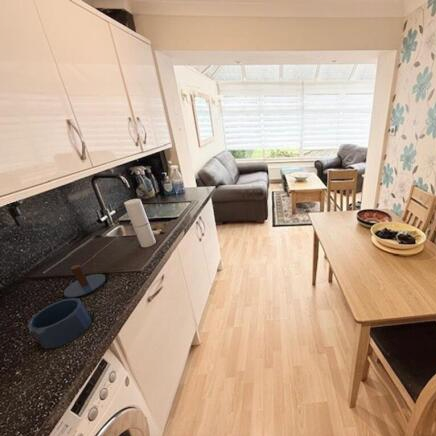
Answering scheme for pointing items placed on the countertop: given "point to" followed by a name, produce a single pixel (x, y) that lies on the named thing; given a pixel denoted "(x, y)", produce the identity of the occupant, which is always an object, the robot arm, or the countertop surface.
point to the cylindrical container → (140, 222)
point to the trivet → (92, 291)
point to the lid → (83, 283)
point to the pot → (59, 323)
